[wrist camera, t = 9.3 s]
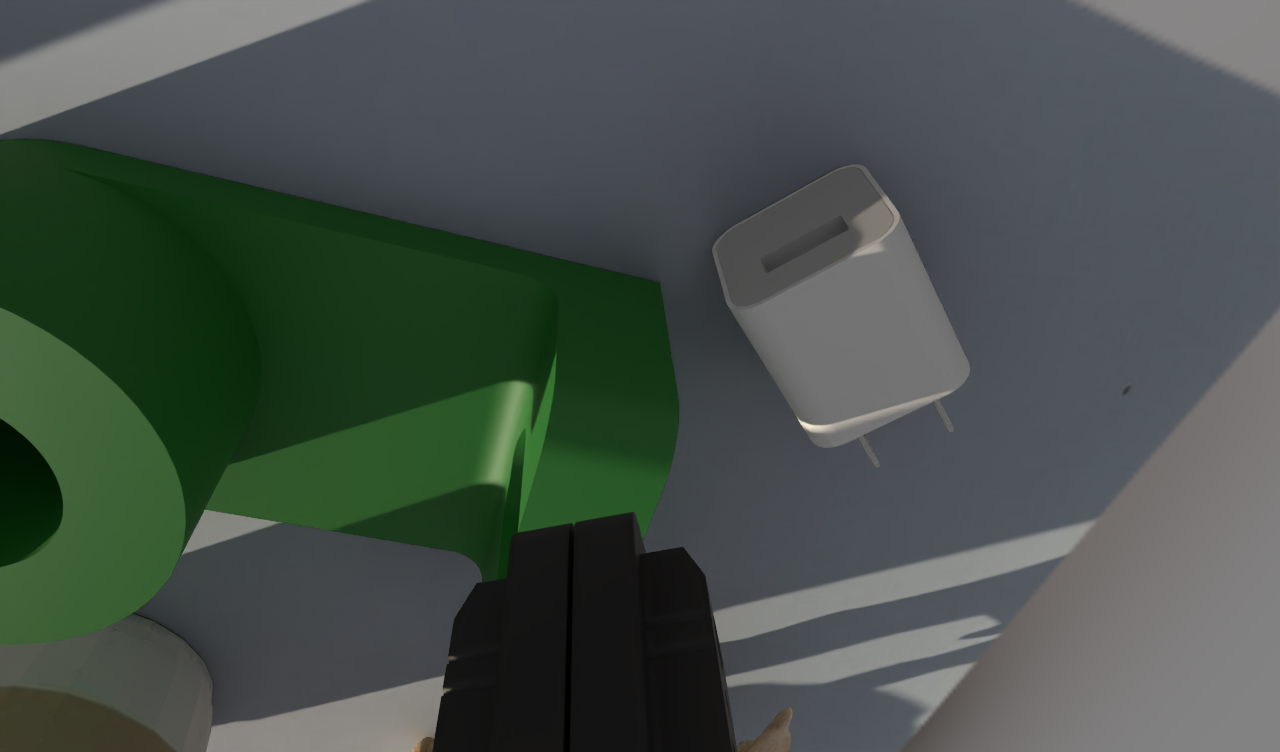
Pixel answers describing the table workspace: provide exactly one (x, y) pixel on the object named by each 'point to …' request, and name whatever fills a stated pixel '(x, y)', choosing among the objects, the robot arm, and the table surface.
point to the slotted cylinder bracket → (292, 381)
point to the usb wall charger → (840, 308)
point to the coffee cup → (106, 693)
